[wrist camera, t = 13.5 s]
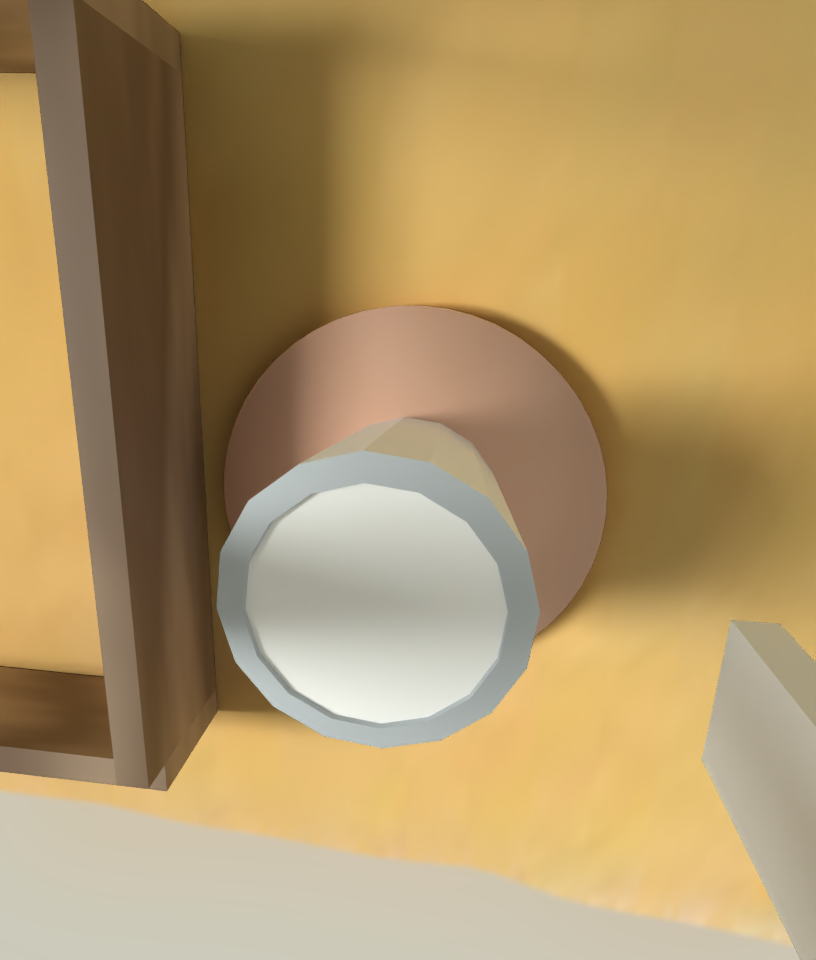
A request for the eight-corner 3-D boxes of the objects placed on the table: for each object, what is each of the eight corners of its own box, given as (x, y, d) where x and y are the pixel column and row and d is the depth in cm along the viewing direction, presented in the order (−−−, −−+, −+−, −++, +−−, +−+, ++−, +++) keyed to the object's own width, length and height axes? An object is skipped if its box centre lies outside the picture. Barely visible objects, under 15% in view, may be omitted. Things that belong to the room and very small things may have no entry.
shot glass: (553, 560, 20) (591, 696, 13) (359, 633, 21) (304, 787, 15) (465, 358, 18) (457, 394, 12) (263, 450, 20) (153, 529, 13)
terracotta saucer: (239, 643, 23) (231, 655, 22) (225, 297, 19) (215, 297, 19) (579, 675, 22) (582, 689, 21) (626, 313, 18) (632, 314, 18)
